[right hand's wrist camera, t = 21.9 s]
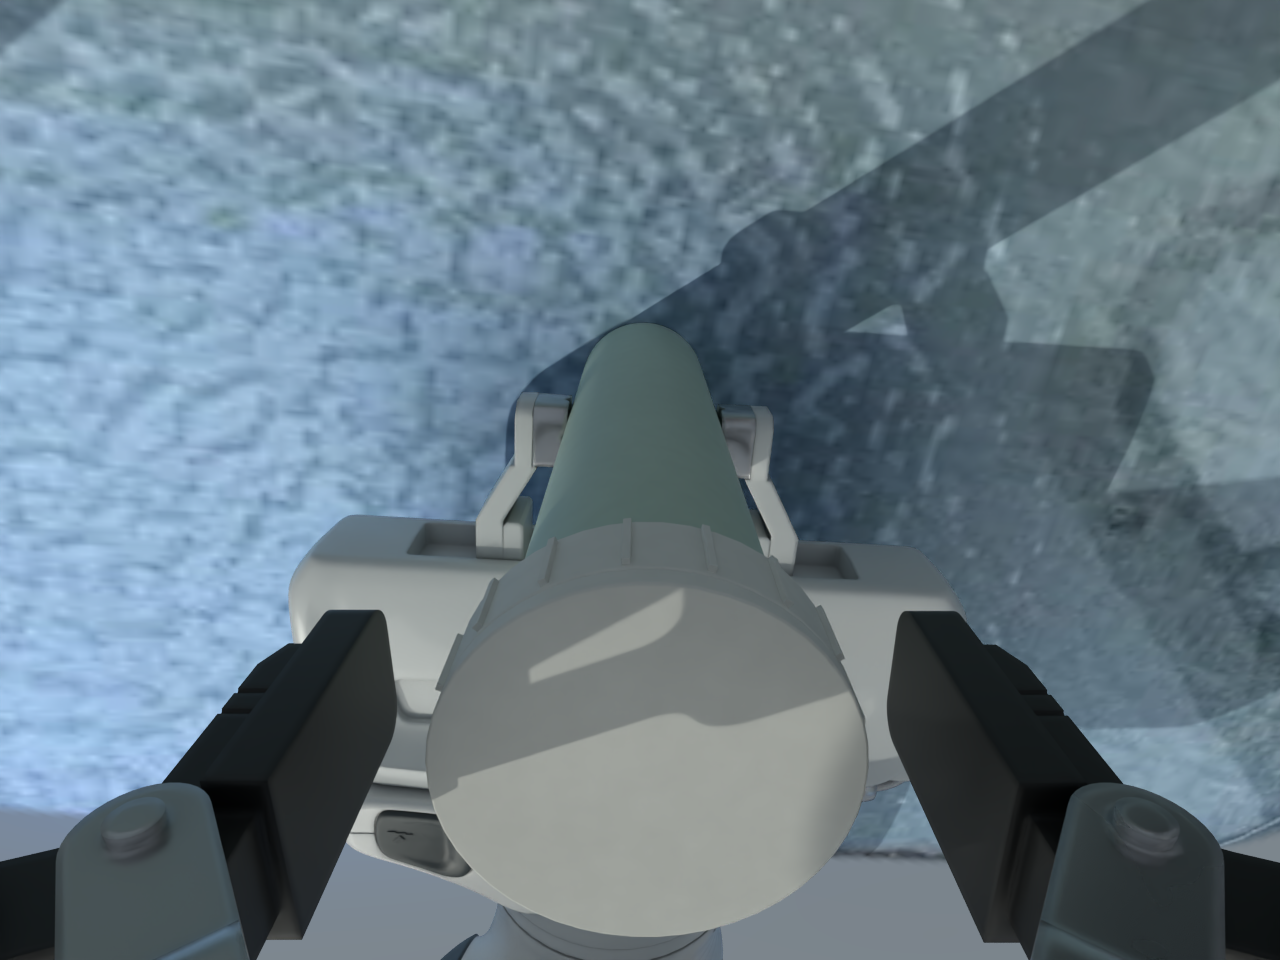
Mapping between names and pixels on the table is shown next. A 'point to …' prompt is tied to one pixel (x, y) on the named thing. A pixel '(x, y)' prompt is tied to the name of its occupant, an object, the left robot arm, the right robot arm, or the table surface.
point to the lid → (646, 733)
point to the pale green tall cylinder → (643, 445)
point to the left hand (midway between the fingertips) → (643, 403)
